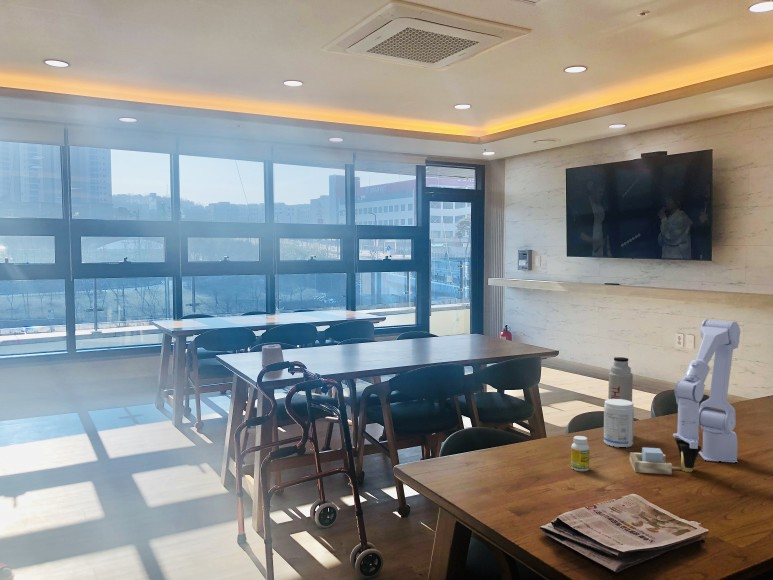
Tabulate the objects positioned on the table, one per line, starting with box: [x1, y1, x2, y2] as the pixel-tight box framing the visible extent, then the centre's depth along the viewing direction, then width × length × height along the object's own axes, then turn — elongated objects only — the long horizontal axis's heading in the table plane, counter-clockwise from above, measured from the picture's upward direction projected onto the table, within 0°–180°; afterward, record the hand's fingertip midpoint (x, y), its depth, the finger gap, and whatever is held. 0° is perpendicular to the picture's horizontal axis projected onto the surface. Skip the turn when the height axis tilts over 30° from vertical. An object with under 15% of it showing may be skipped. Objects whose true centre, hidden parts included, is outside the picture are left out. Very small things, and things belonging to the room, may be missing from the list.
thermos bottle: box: [607, 356, 634, 402], centre depth 224 cm, size 8×8×28 cm
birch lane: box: [629, 452, 673, 475], centre depth 191 cm, size 10×9×3 cm
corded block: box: [641, 447, 694, 473], centre depth 190 cm, size 14×5×6 cm, turn 78°
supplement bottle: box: [570, 435, 591, 472], centre depth 190 cm, size 5×5×10 cm
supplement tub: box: [603, 399, 635, 448], centre depth 214 cm, size 10×10×15 cm
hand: (686, 465), depth 189 cm, fingers open, 4 cm apart
